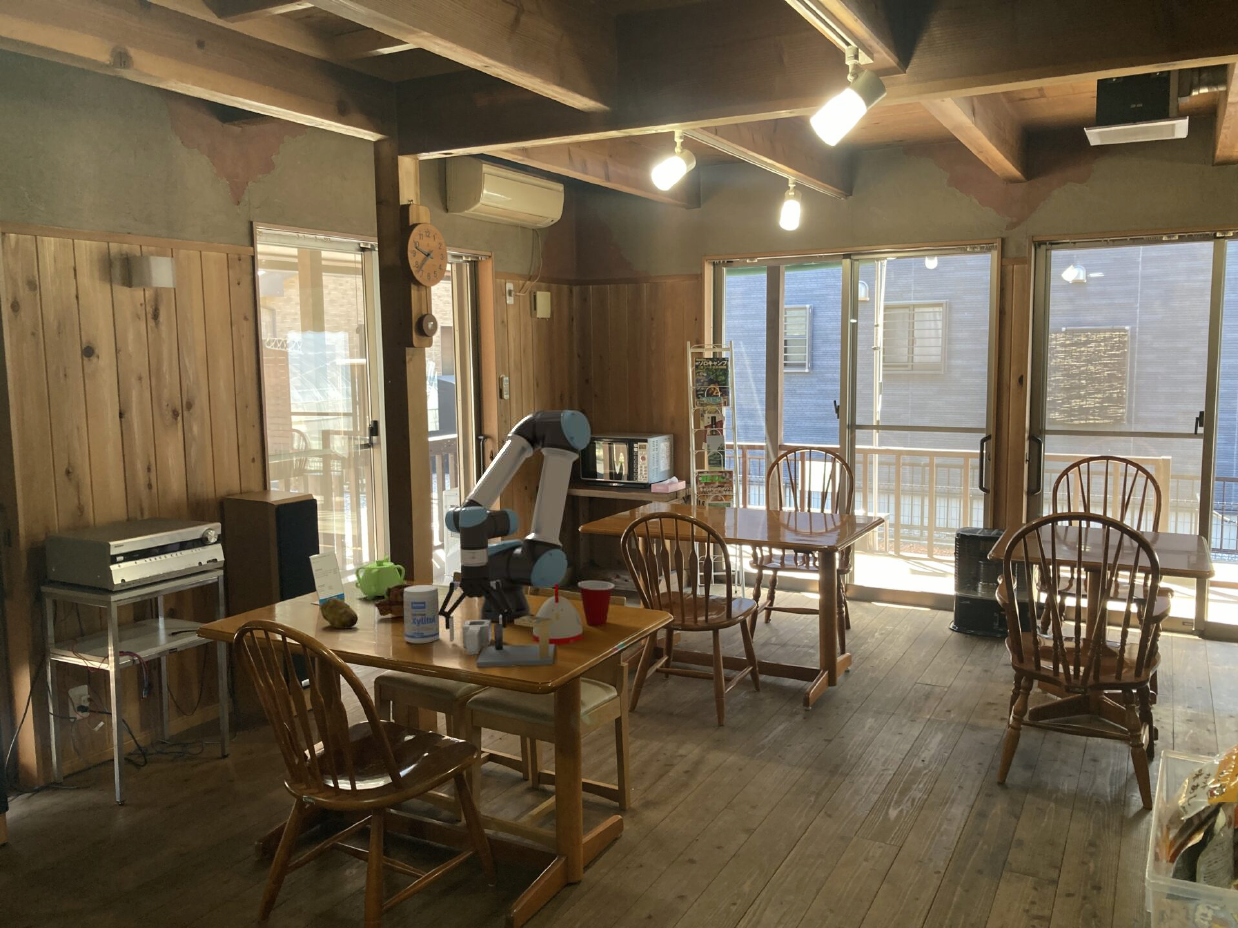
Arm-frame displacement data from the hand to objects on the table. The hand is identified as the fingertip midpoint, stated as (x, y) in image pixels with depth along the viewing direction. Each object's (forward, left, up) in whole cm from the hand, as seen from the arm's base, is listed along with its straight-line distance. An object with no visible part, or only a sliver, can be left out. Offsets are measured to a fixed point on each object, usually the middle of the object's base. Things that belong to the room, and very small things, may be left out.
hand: (476, 639), depth 263 cm
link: (+4, 0, -1) cm, 4 cm away
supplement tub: (-5, -16, -1) cm, 17 cm away
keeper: (+18, +17, 0) cm, 24 cm away
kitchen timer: (-3, +22, -1) cm, 22 cm away
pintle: (+11, +7, 0) cm, 13 cm away
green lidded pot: (-63, -40, -1) cm, 75 cm away
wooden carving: (-33, -27, -1) cm, 43 cm away
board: (+15, +12, -1) cm, 19 cm away
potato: (-23, -44, -1) cm, 50 cm away
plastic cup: (-17, +33, -1) cm, 37 cm away
